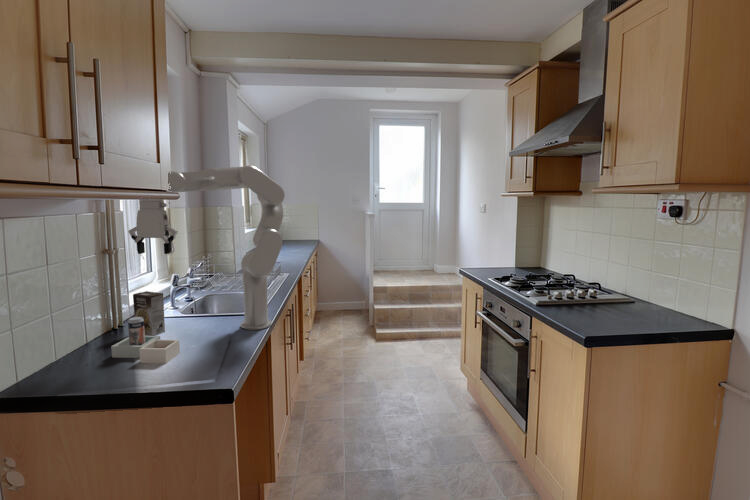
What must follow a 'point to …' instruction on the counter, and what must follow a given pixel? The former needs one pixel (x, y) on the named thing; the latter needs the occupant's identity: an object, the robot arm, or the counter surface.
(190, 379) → the counter surface
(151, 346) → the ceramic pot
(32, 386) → the counter surface
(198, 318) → the counter surface
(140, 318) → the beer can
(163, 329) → the coffee box
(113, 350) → the grey tub
